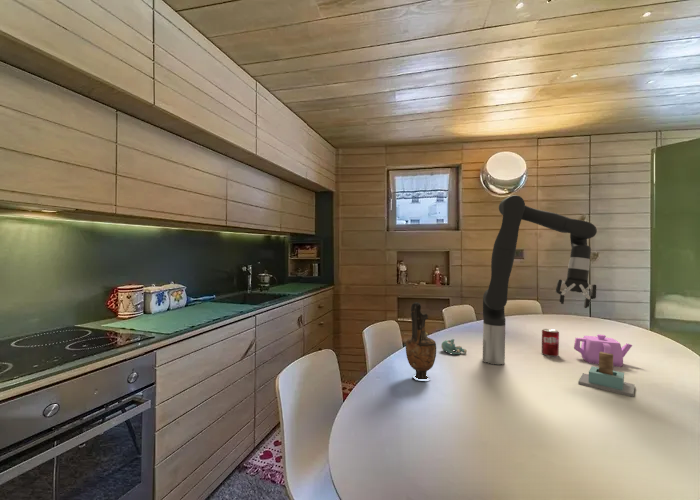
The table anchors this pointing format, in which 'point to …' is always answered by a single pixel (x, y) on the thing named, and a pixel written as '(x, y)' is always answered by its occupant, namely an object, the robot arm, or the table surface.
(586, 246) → the robot arm
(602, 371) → the block
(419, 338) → the vase
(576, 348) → the teakettle
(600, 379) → the teal and grey socket
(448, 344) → the stuffed animal
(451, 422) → the table surface
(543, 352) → the soda can
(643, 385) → the table surface
